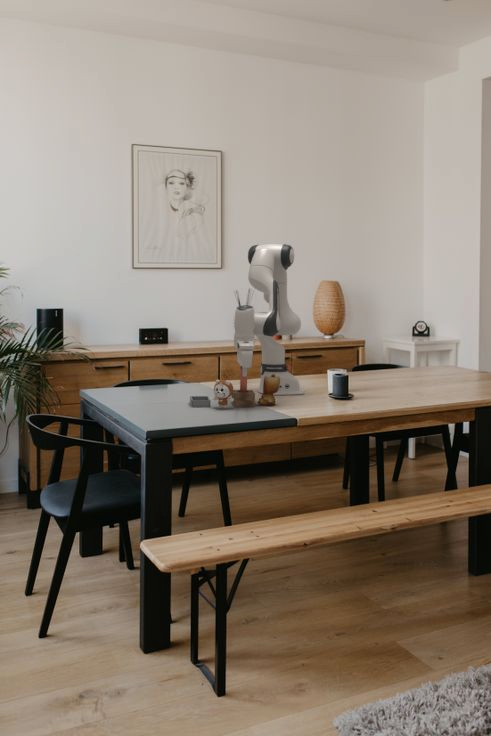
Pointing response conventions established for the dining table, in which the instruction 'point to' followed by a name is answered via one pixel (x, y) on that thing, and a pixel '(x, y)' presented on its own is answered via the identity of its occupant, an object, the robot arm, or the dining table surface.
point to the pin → (243, 382)
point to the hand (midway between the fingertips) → (243, 375)
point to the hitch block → (243, 398)
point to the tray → (199, 401)
